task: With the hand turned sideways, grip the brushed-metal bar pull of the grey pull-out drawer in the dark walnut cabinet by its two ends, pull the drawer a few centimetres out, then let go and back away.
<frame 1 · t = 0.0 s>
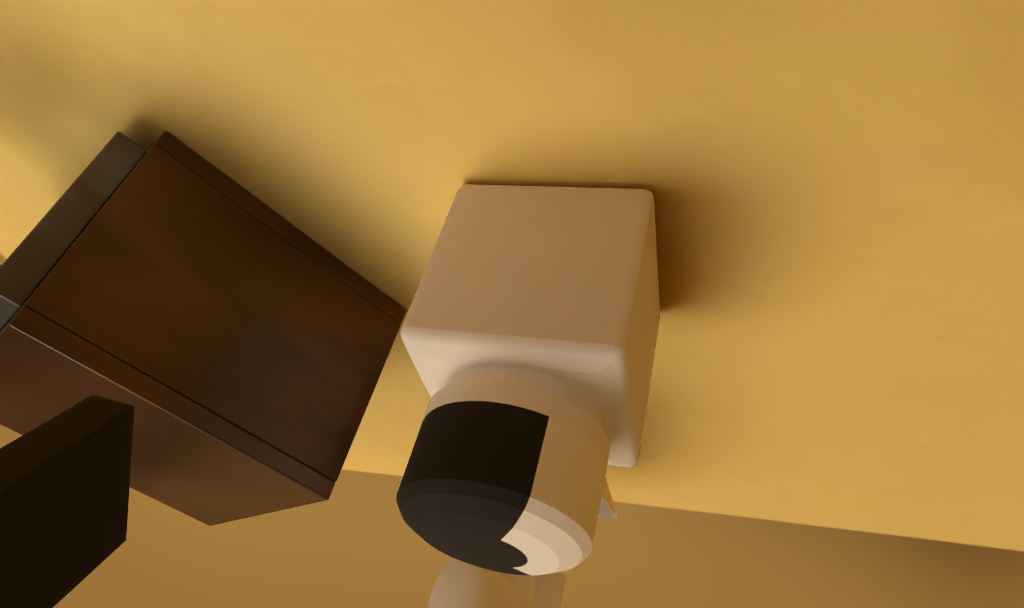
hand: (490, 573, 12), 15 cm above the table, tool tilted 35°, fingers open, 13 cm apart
medicine bottle: (566, 247, 29), on the table
grey pull-out drawer: (99, 296, 31), point 5 cm above the table, slide at 0.0 cm
figurine: (545, 418, 40), on the table
cabinet: (239, 269, 35), on the table
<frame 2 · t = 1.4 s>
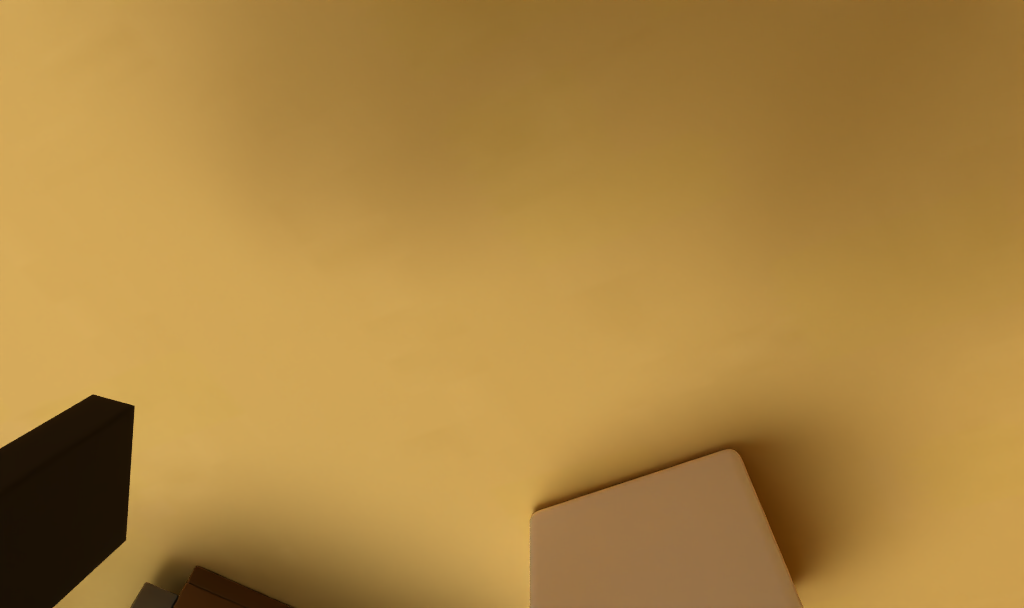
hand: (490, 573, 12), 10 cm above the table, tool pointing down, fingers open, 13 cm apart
medicine bottle: (662, 548, 25), on the table
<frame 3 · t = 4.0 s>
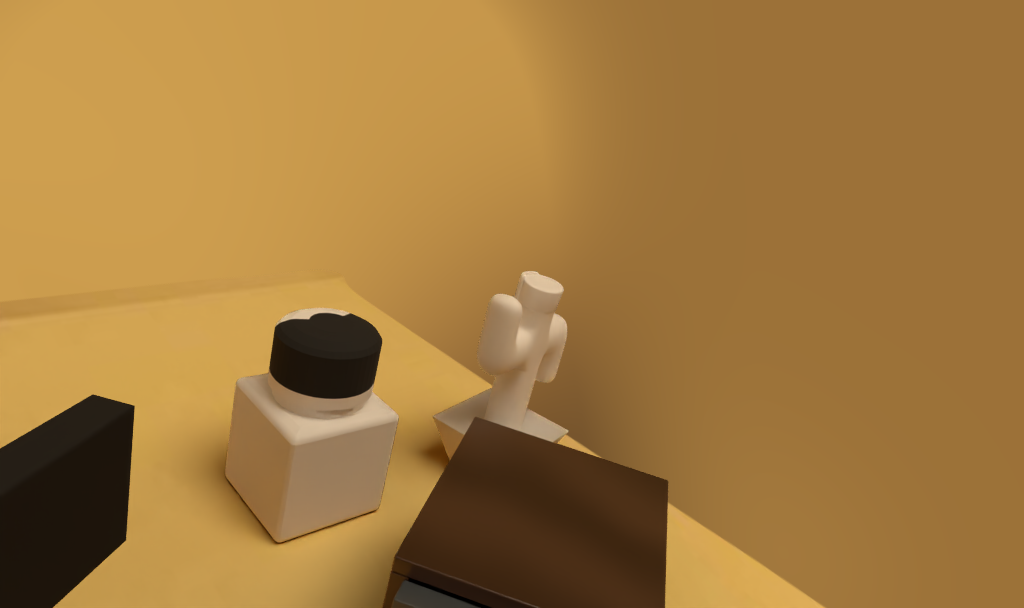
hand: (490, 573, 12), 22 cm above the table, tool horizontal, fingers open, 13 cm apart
medicine bottle: (301, 496, 46), on the table
figurine: (490, 468, 54), on the table
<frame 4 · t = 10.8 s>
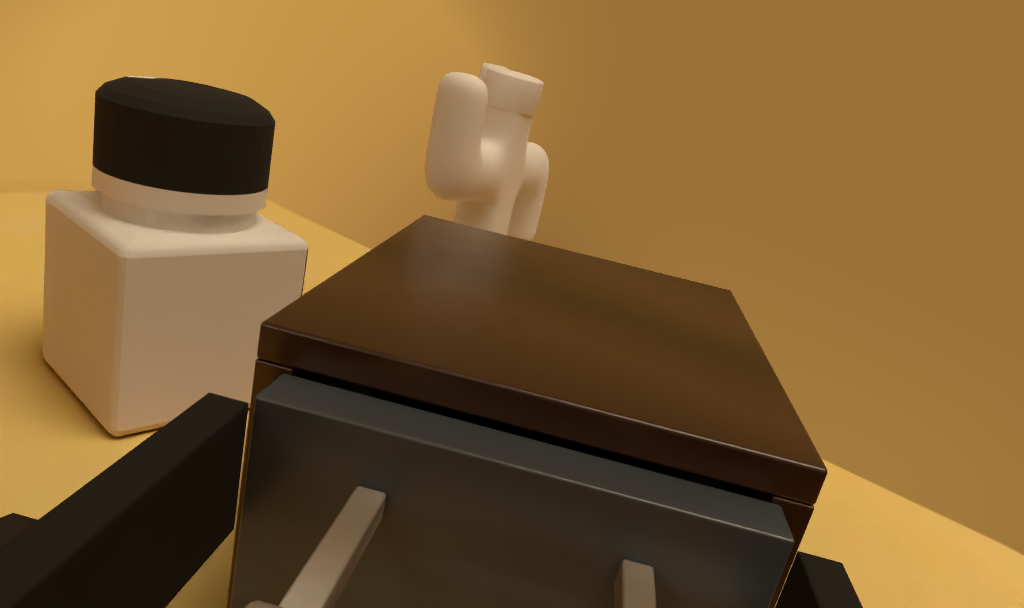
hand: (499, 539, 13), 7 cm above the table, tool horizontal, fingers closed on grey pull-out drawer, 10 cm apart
medicine bottle: (167, 385, 31), on the table
grey pull-out drawer: (500, 541, 17), point 5 cm above the table, slide at 0.0 cm, touching gripper
figurine: (452, 362, 39), on the table
cabinet: (489, 589, 23), on the table
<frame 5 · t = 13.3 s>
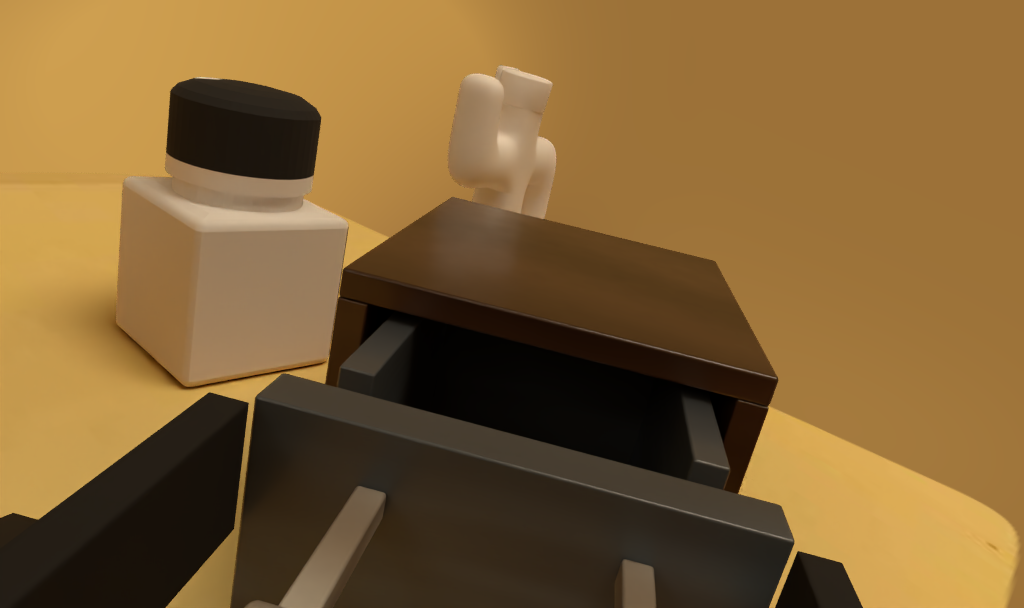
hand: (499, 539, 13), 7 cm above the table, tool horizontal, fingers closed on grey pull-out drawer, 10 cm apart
medicine bottle: (223, 348, 35), on the table
grey pull-out drawer: (500, 541, 17), point 5 cm above the table, slide at 4.5 cm, touching gripper
figurine: (469, 335, 43), on the table
cabinet: (510, 510, 27), on the table
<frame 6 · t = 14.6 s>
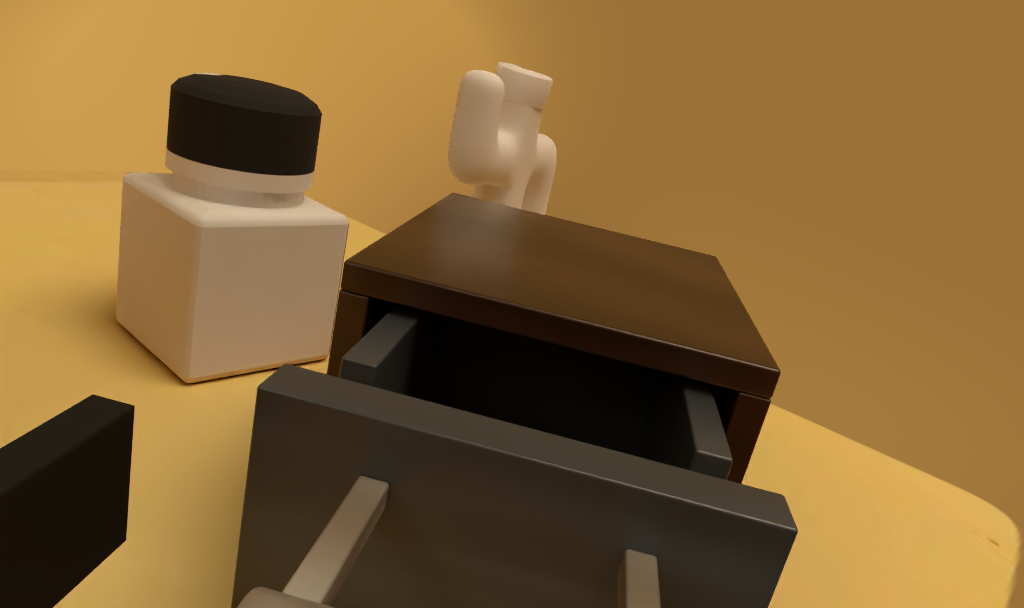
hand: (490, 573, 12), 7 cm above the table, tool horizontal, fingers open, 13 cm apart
medicine bottle: (223, 345, 35), on the table
grey pull-out drawer: (502, 534, 17), point 5 cm above the table, slide at 4.5 cm
figurine: (469, 332, 43), on the table
cabinet: (511, 506, 27), on the table
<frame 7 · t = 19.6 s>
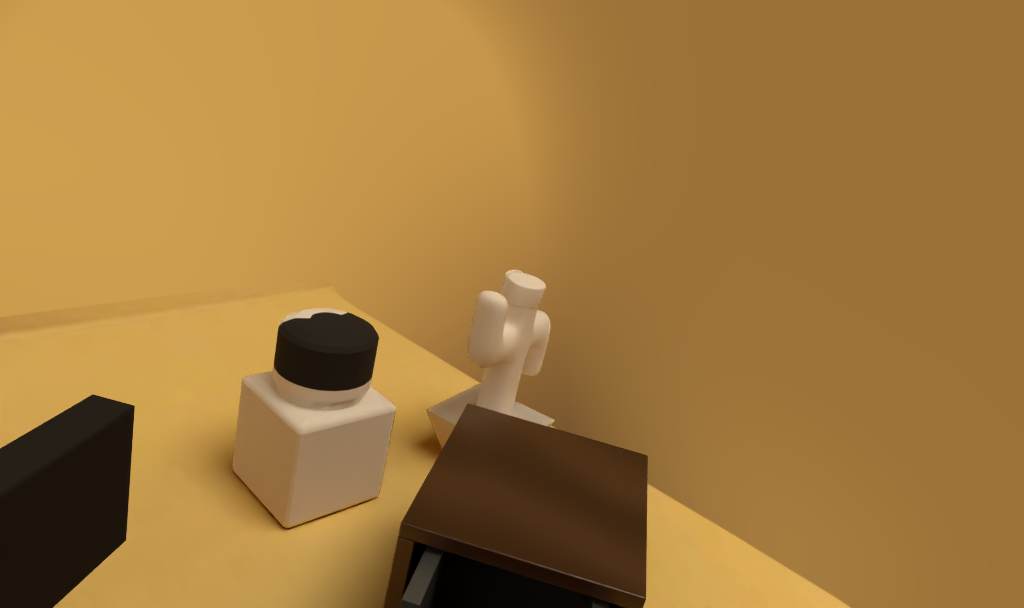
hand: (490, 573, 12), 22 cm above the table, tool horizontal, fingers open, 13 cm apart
medicine bottle: (305, 487, 49), on the table
figurine: (481, 458, 57), on the table
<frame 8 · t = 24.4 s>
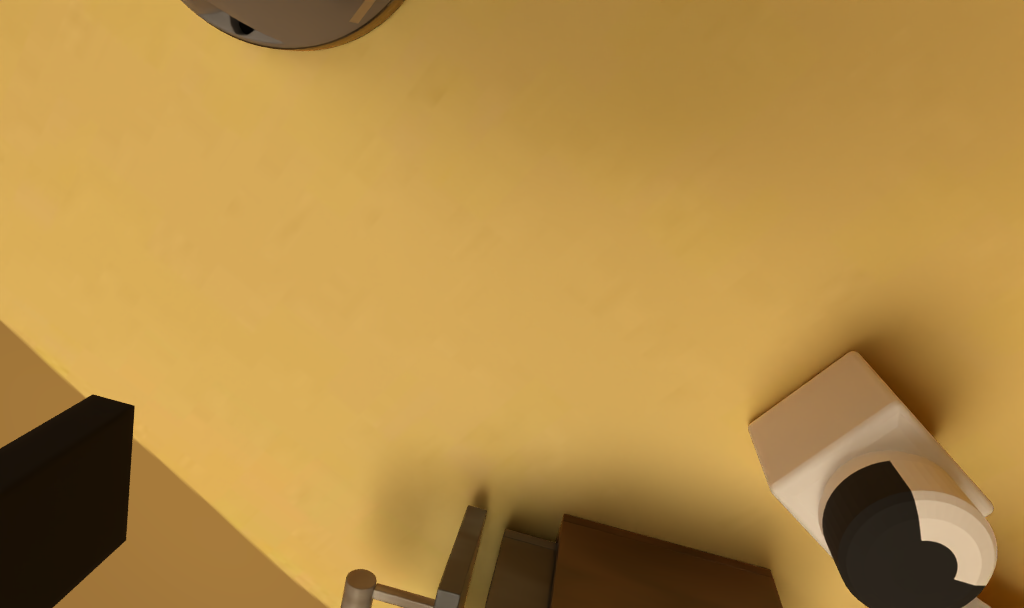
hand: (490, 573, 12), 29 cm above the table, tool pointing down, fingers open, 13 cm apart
medicine bottle: (837, 430, 41), on the table
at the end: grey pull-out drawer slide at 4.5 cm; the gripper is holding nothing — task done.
